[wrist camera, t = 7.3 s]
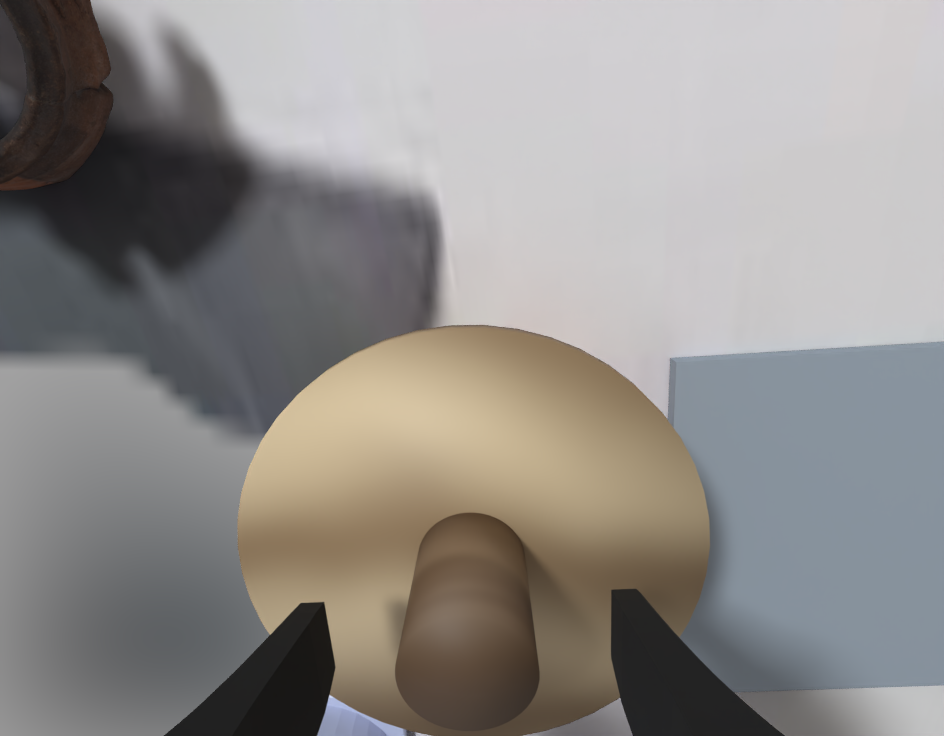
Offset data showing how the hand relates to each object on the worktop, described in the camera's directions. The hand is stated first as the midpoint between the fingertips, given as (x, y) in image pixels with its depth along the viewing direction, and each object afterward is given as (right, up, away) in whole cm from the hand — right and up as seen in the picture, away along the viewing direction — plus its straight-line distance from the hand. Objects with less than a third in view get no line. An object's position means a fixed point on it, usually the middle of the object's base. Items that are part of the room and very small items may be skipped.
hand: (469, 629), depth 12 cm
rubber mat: (+15, 0, +8) cm, 17 cm away
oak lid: (0, +1, +3) cm, 3 cm away
